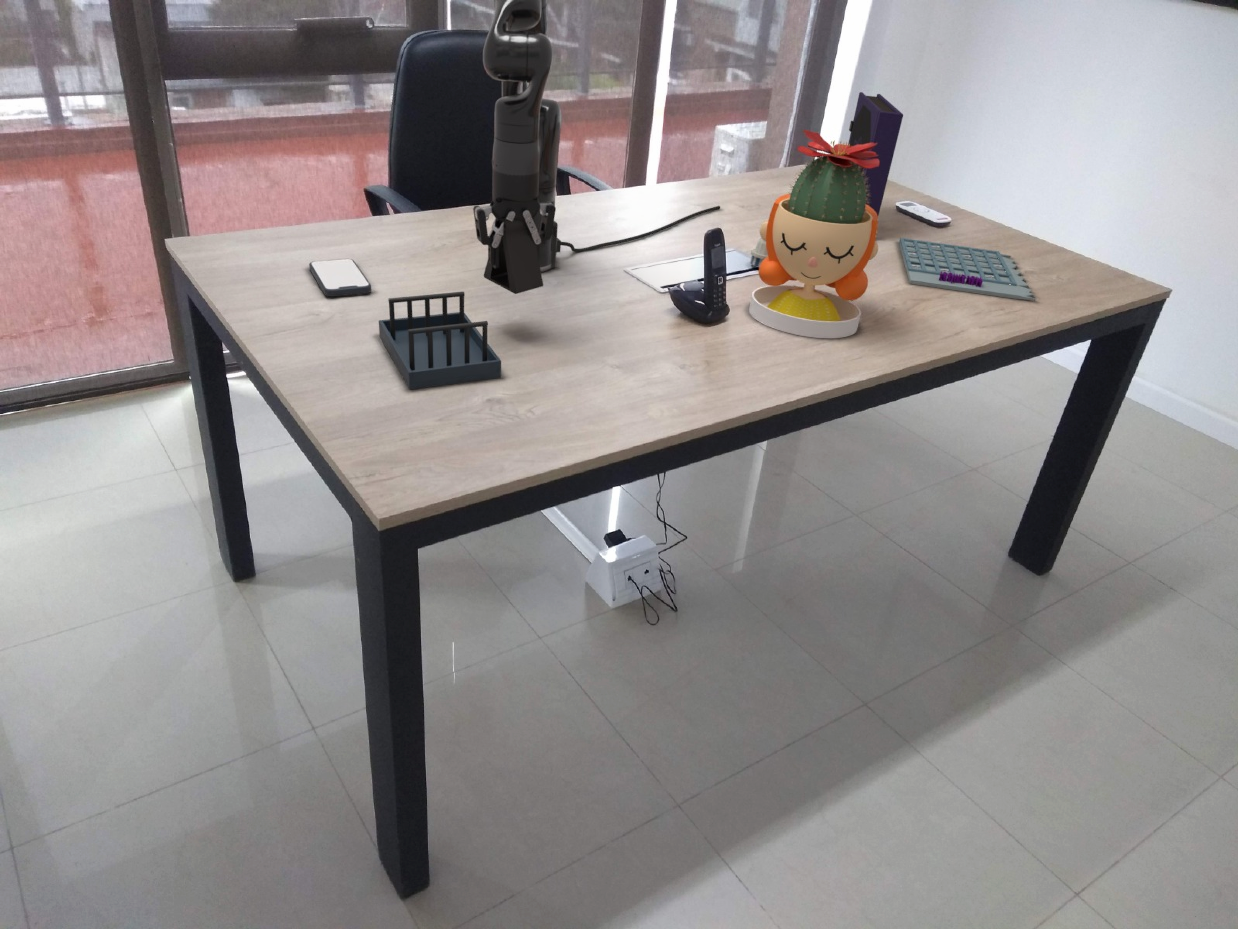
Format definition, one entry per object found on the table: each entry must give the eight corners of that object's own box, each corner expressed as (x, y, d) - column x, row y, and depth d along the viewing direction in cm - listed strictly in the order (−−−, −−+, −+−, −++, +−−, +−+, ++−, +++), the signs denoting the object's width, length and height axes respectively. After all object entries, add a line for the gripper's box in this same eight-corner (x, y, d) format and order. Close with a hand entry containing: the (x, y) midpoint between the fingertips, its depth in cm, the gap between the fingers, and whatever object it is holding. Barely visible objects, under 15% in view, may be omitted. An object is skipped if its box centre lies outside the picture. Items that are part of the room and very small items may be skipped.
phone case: (308, 269, 179) (325, 298, 167) (307, 261, 178) (324, 290, 167) (353, 265, 183) (373, 294, 171) (352, 257, 182) (373, 286, 170)
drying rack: (463, 327, 163) (463, 282, 158) (500, 377, 148) (501, 330, 143) (379, 336, 157) (376, 290, 152) (409, 389, 142) (407, 340, 137)
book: (874, 240, 225) (905, 114, 209) (849, 238, 225) (878, 111, 209) (854, 211, 245) (881, 93, 229) (831, 209, 245) (857, 91, 228)
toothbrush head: (841, 239, 211) (767, 238, 196) (832, 267, 214) (759, 268, 199) (824, 232, 214) (751, 231, 199) (816, 259, 217) (743, 260, 202)
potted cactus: (854, 346, 170) (902, 155, 152) (738, 322, 175) (770, 134, 156) (863, 305, 188) (906, 130, 169) (757, 285, 193) (788, 112, 174)
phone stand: (483, 277, 159) (483, 209, 152) (510, 270, 162) (511, 203, 156) (516, 294, 154) (517, 225, 147) (543, 286, 157) (546, 219, 151)
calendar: (1011, 258, 223) (1014, 249, 221) (1036, 301, 199) (1039, 291, 198) (898, 243, 226) (901, 233, 224) (909, 283, 202) (912, 273, 200)
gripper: (480, 175, 141) (480, 277, 151) (565, 171, 147) (560, 269, 156) (465, 161, 147) (466, 260, 156) (548, 157, 153) (544, 253, 162)
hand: (513, 264), depth 156 cm, fingers closed on phone stand, 6 cm apart
